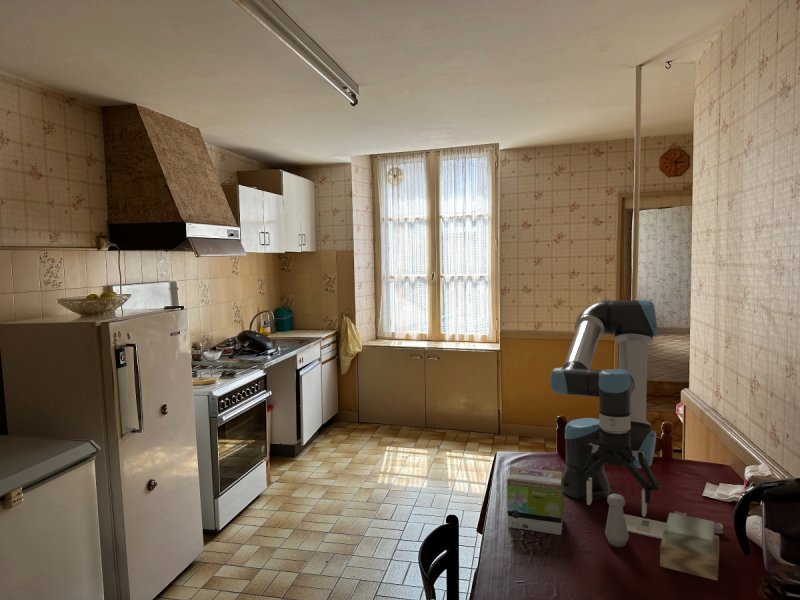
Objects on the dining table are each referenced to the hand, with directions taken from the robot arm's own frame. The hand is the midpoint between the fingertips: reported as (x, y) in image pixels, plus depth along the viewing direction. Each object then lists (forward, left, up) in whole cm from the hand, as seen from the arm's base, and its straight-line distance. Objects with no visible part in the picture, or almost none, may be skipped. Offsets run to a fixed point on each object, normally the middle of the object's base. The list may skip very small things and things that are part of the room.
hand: (616, 508), depth 137 cm
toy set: (+18, +18, -10) cm, 27 cm away
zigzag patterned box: (+17, 0, -10) cm, 20 cm away
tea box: (-22, 0, -10) cm, 24 cm away
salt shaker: (0, 0, -10) cm, 10 cm away
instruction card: (+5, +12, -10) cm, 17 cm away
